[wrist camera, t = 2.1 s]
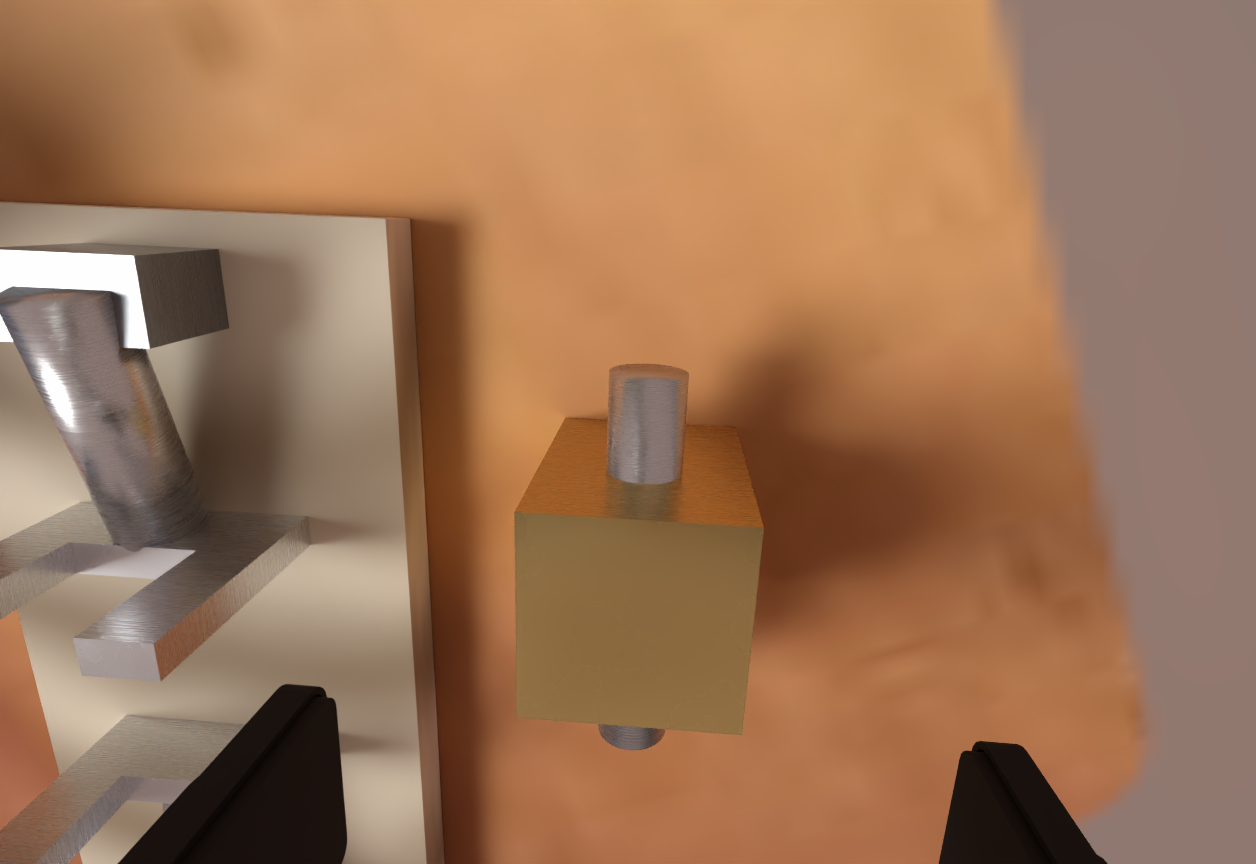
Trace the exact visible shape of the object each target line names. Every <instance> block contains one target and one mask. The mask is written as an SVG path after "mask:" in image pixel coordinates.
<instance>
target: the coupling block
mask: <svg viewBox="0 0 1256 864" xmlns="http://www.w3.org/2000/svg"><path fill="white" fill-rule="evenodd" d="M688 381H689V373H688V372H687V371H685V370H683V369H680V368H676V367H672V366H666V365H658V364H626V365H619V366H615V367H613V368H611V369H610V370H609V397H608V420H595V419H577V418H565V419H564V421H563V423H562V425H561V427H560V429H559V430H558V432H557V434H556V436H555V438H554V440H553V442H552V443H551V445H550V447H549V449H548V451H547V453H546V455H545V456H544V458H543V460H542V462H541V464H540V466H539V468H538V469H537V471H536V473H535V475H534V477H533V479H532V481H531V482H530V484H529V486H528V488H527V490H526V492H525V494H524V495H523V497H522V499H521V501H520V503H519V505H518V507H517V508H516V510H515V512H514V513H515V601H516V690H517V718H529V719H541V720H554V721H567V722H580V723H593V724H598V728H599V732H600V734H601V736H602V737H603V738H604V739H605V740H606V741H607V742H608V743H609V744H611V745H613V746H615V747H617V748H620V749H624V750H642V749H646V748H649V747H652V746H653V745H655V744H657V743H658V742H659V741H660V740H661V739H662V737H663V736H664V733H665V729H669V730H682V731H695V732H707V733H720V734H733V735H742V729H743V720H744V711H745V701H746V692H747V682H748V673H749V664H750V654H751V645H752V636H753V626H754V617H755V608H756V598H757V589H758V580H759V570H760V561H761V552H762V542H763V533H764V526H763V522H762V519H761V515H760V512H759V508H758V504H757V501H756V497H755V494H754V490H753V486H752V483H751V479H750V476H749V472H748V468H747V465H746V461H745V458H744V454H743V450H742V447H741V443H740V440H739V436H738V432H737V429H736V427H720V426H702V425H686V411H687V396H688Z"/></svg>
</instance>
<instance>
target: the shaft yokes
mask: <svg viewBox="0 0 1256 864" xmlns="http://www.w3.org/2000/svg"><path fill="white" fill-rule="evenodd" d="M228 328H229V322H228V315H227V308H226V300H225V293H224V285H223V278H222V270H221V263H220V255H219V249H211V248H188V247H165V246H142V245H119V244H97V243H71V244H52V245H33V246H13V247H0V341H5V342H14V344H15V346H16V348H17V350H18V352H19V354H20V356H21V358H22V360H23V362H24V364H25V366H26V368H27V370H28V372H29V374H30V376H31V378H32V380H33V382H34V384H35V386H36V388H37V390H38V392H39V394H40V396H41V398H42V400H43V402H44V404H45V406H46V408H47V410H48V412H49V414H50V416H51V418H52V420H53V422H54V424H55V426H56V428H57V430H58V433H59V435H60V437H61V439H62V441H63V443H64V445H65V447H66V449H67V451H68V453H69V455H70V457H71V459H72V461H73V463H74V465H75V467H76V469H77V471H78V473H79V475H80V477H81V479H82V481H83V483H84V485H85V487H86V489H87V491H88V493H89V495H90V497H91V499H92V501H93V503H90V502H79V503H77V504H75V505H73V506H71V507H69V508H67V509H65V510H63V511H61V512H59V513H57V514H55V515H53V516H51V517H48V518H46V519H44V520H42V521H40V522H38V523H36V524H34V525H32V526H30V527H28V528H26V529H24V530H22V531H20V532H18V533H16V534H14V535H12V536H9V537H7V538H5V539H3V540H1V541H0V619H1V618H3V617H5V616H6V615H8V614H10V613H11V612H13V611H15V610H16V609H18V608H20V607H21V606H23V605H25V604H26V603H28V602H30V601H31V600H33V599H35V598H36V597H38V596H40V595H41V594H43V593H45V592H46V591H48V590H50V589H51V588H53V587H55V586H56V585H58V584H60V583H61V582H63V581H65V580H66V579H68V578H70V577H71V576H73V575H74V574H90V575H105V576H119V577H134V578H148V579H156V580H154V581H153V582H151V583H150V584H148V585H147V586H146V587H144V588H143V589H141V590H140V591H139V592H137V593H136V594H134V595H133V596H131V597H130V598H129V599H127V600H126V601H124V602H123V603H122V604H120V605H119V606H117V607H116V608H114V609H113V610H112V611H110V612H109V613H107V614H106V615H105V616H103V617H102V618H100V619H99V620H97V621H96V622H95V623H93V624H92V625H90V626H89V627H88V628H86V629H85V630H83V631H82V632H81V633H79V634H78V635H76V636H75V637H73V641H74V645H75V650H76V654H77V658H78V663H79V667H80V671H81V675H82V676H91V677H104V678H117V679H130V680H143V681H157V682H161V681H162V680H163V679H164V678H165V677H167V676H168V675H169V674H170V673H171V672H172V671H173V670H174V669H175V668H176V667H178V666H179V665H180V664H181V663H182V662H183V661H184V660H185V659H186V658H187V657H188V656H190V655H191V654H192V653H193V652H194V651H195V650H196V649H197V648H198V647H199V646H201V645H202V644H203V643H204V642H205V641H206V640H207V639H208V638H209V637H210V636H211V635H213V634H214V633H215V632H216V631H217V630H218V629H219V628H220V627H221V626H222V625H224V624H225V623H226V622H227V621H228V620H229V619H230V618H231V617H232V616H233V615H235V614H236V613H237V612H238V611H239V610H240V609H241V608H242V607H243V606H244V605H245V604H247V603H248V602H249V601H250V600H251V599H252V598H253V597H254V596H255V595H256V594H258V593H259V592H260V591H261V590H262V589H263V588H264V587H265V586H266V585H267V584H268V583H270V582H271V581H272V580H273V579H274V578H275V577H276V576H277V575H278V574H279V573H281V572H282V571H283V570H284V569H285V568H286V567H287V566H288V565H289V564H290V563H292V562H293V561H294V560H295V559H296V558H297V557H298V556H299V555H300V554H301V553H302V552H304V551H305V550H306V549H307V548H308V547H309V546H310V545H311V541H310V532H309V523H308V516H296V515H280V514H265V513H249V512H233V511H217V510H208V508H207V505H206V503H205V500H204V498H203V495H202V492H201V490H200V487H199V485H198V482H197V480H196V477H195V474H194V472H193V469H192V467H191V464H190V461H189V459H188V456H187V454H186V451H185V448H184V446H183V443H182V441H181V438H180V436H179V433H178V430H177V428H176V425H175V423H174V420H173V417H172V415H171V412H170V410H169V407H168V405H167V402H166V399H165V397H164V394H163V392H162V389H161V386H160V384H159V381H158V379H157V376H156V373H155V371H154V368H153V366H152V363H151V361H150V358H149V355H148V353H147V350H146V349H152V348H155V347H159V346H163V345H167V344H171V343H175V342H178V341H182V340H186V339H190V338H194V337H198V336H202V335H205V334H209V333H213V332H217V331H221V330H225V329H228ZM244 726H245V724H235V723H222V722H209V721H197V720H184V719H171V718H158V717H146V716H133V715H126V716H125V717H124V718H122V719H121V720H120V721H119V722H118V723H117V724H116V725H115V726H114V727H113V728H112V729H110V730H109V731H108V732H107V733H106V734H105V735H104V736H103V737H102V738H101V739H100V740H98V741H97V742H96V743H95V744H94V745H93V746H92V747H91V748H90V749H89V750H88V751H86V752H85V753H84V754H83V755H82V756H81V757H80V758H79V759H78V760H77V761H75V762H74V763H73V764H72V765H71V766H70V767H69V768H68V769H67V770H66V771H65V772H63V773H62V774H61V775H60V776H59V777H58V778H57V779H56V780H55V781H54V782H53V783H51V784H50V785H49V786H48V787H47V788H46V789H45V790H44V791H43V792H42V793H41V794H39V795H38V796H37V797H36V798H35V799H34V800H33V801H32V802H31V803H30V804H29V805H27V806H26V807H25V808H24V809H23V810H22V811H21V812H20V813H19V814H18V815H17V816H15V817H14V818H13V819H12V820H11V821H10V822H9V823H8V824H7V825H6V826H4V827H3V828H2V829H1V830H0V864H68V863H69V862H70V861H71V860H72V859H73V858H74V857H75V855H76V854H77V853H78V852H79V851H80V850H81V849H82V848H83V847H84V846H85V845H86V844H87V843H88V841H89V840H90V839H91V838H92V837H93V836H94V835H95V834H96V833H97V832H98V831H99V830H100V829H101V828H102V826H103V825H104V824H105V823H106V822H107V821H108V820H109V819H110V818H111V817H112V816H113V815H114V814H115V813H116V811H117V810H118V809H119V808H120V807H121V806H122V805H123V804H124V803H125V802H126V801H127V800H129V801H141V802H153V803H163V813H164V812H165V811H166V810H167V808H168V807H169V806H170V805H171V804H172V803H173V802H174V801H175V800H176V799H177V797H178V796H179V795H180V794H181V793H182V792H183V791H184V790H185V789H186V787H187V786H188V785H189V784H190V783H191V782H193V781H194V780H195V779H196V778H197V777H198V776H200V774H201V773H202V772H203V771H204V770H205V769H206V768H207V767H208V766H209V764H210V763H211V762H212V761H213V760H214V759H215V758H216V757H217V756H218V754H219V753H220V752H221V751H222V750H223V749H224V748H225V747H226V746H227V744H228V743H229V742H230V741H231V740H232V739H233V738H234V737H235V736H236V734H237V733H238V732H239V731H240V730H241V729H242V728H243V727H244ZM163 813H162V814H163Z"/></svg>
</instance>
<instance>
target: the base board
mask: <svg viewBox="0 0 1256 864" xmlns="http://www.w3.org/2000/svg"><path fill="white" fill-rule="evenodd" d="M71 243H97V244H119V245H142V246H165V247H188V248H211V249H219V255H220V263H221V270H222V278H223V285H224V293H225V300H226V308H227V315H228V322H229V328H228V329H225V330H221V331H217V332H213V333H209V334H205V335H202V336H198V337H194V338H190V339H186V340H182V341H178V342H175V343H171V344H167V345H163V346H159V347H155V348H152V349H146V350H147V353H148V355H149V358H150V361H151V363H152V366H153V368H154V371H155V373H156V376H157V379H158V381H159V384H160V386H161V389H162V392H163V394H164V397H165V399H166V402H167V405H168V407H169V410H170V412H171V415H172V417H173V420H174V423H175V425H176V428H177V430H178V433H179V436H180V438H181V441H182V443H183V446H184V448H185V451H186V454H187V456H188V459H189V461H190V464H191V467H192V469H193V472H194V474H195V477H196V480H197V482H198V485H199V487H200V490H201V492H202V495H203V498H204V500H205V503H206V505H207V508H208V510H217V511H233V512H249V513H265V514H280V515H296V516H308V523H309V532H310V541H311V545H310V546H309V547H308V548H307V549H306V550H305V551H304V552H302V553H301V554H300V555H299V556H298V557H297V558H296V559H295V560H294V561H293V562H292V563H290V564H289V565H288V566H287V567H286V568H285V569H284V570H283V571H282V572H281V573H279V574H278V575H277V576H276V577H275V578H274V579H273V580H272V581H271V582H270V583H268V584H267V585H266V586H265V587H264V588H263V589H262V590H261V591H260V592H259V593H258V594H256V595H255V596H254V597H253V598H252V599H251V600H250V601H249V602H248V603H247V604H245V605H244V606H243V607H242V608H241V609H240V610H239V611H238V612H237V613H236V614H235V615H233V616H232V617H231V618H230V619H229V620H228V621H227V622H226V623H225V624H224V625H222V626H221V627H220V628H219V629H218V630H217V631H216V632H215V633H214V634H213V635H211V636H210V637H209V638H208V639H207V640H206V641H205V642H204V643H203V644H202V645H201V646H199V647H198V648H197V649H196V650H195V651H194V652H193V653H192V654H191V655H190V656H188V657H187V658H186V659H185V660H184V661H183V662H182V663H181V664H180V665H179V666H178V667H176V668H175V669H174V670H173V671H172V672H171V673H170V674H169V675H168V676H167V677H165V678H164V679H163V680H162V681H161V682H157V681H143V680H130V679H117V678H104V677H91V676H82V675H81V671H80V667H79V663H78V658H77V654H76V650H75V645H74V641H73V637H75V636H76V635H78V634H79V633H81V632H82V631H83V630H85V629H86V628H88V627H89V626H90V625H92V624H93V623H95V622H96V621H97V620H99V619H100V618H102V617H103V616H105V615H106V614H107V613H109V612H110V611H112V610H113V609H114V608H116V607H117V606H119V605H120V604H122V603H123V602H124V601H126V600H127V599H129V598H130V597H131V596H133V595H134V594H136V593H137V592H139V591H140V590H141V589H143V588H144V587H146V586H147V585H148V584H150V583H151V582H153V581H154V580H156V579H148V578H134V577H119V576H105V575H90V574H74V575H73V576H71V577H70V578H68V579H66V580H65V581H63V582H61V583H60V584H58V585H56V586H55V587H53V588H51V589H50V590H48V591H46V592H45V593H43V594H41V595H40V596H38V597H36V598H35V599H33V600H31V601H30V602H28V603H26V604H25V605H23V606H21V607H20V608H18V609H17V610H18V614H19V618H20V622H21V626H22V630H23V634H24V638H25V641H26V645H27V649H28V653H29V657H30V661H31V665H32V669H33V672H34V676H35V680H36V684H37V688H38V692H39V696H40V700H41V704H42V707H43V711H44V715H45V719H46V723H47V727H48V731H49V735H50V739H51V742H52V746H53V750H54V754H55V758H56V762H57V766H58V770H59V774H60V775H61V774H62V773H63V772H65V771H66V770H67V769H68V768H69V767H70V766H71V765H72V764H73V763H74V762H75V761H77V760H78V759H79V758H80V757H81V756H82V755H83V754H84V753H85V752H86V751H88V750H89V749H90V748H91V747H92V746H93V745H94V744H95V743H96V742H97V741H98V740H100V739H101V738H102V737H103V736H104V735H105V734H106V733H107V732H108V731H109V730H110V729H112V728H113V727H114V726H115V725H116V724H117V723H118V722H119V721H120V720H121V719H122V718H124V717H125V716H126V715H133V716H146V717H158V718H171V719H184V720H197V721H209V722H222V723H235V724H246V723H247V722H248V721H249V720H250V719H251V718H252V717H253V716H254V714H255V713H256V712H257V711H258V710H259V709H260V708H261V707H262V706H263V704H264V703H265V702H266V701H267V700H268V699H269V698H270V697H271V696H272V694H273V693H274V692H275V691H276V690H277V689H278V688H279V687H280V686H282V685H284V684H295V685H307V686H319V687H322V688H324V690H325V691H326V695H327V697H329V698H333V699H334V700H335V702H336V707H337V719H338V731H339V743H340V755H341V767H342V779H343V791H344V803H345V815H346V827H347V848H346V852H345V856H344V859H343V862H342V864H445V861H444V843H443V824H442V805H441V787H440V768H439V749H438V731H437V712H436V693H435V675H434V656H433V638H432V619H431V600H430V582H429V563H428V544H427V526H426V507H425V488H424V470H423V451H422V433H421V414H420V395H419V377H418V358H417V339H416V321H415V302H414V284H413V265H412V246H411V228H410V218H391V217H367V216H342V215H318V214H293V213H269V212H245V211H220V210H196V209H171V208H147V207H123V206H98V205H74V204H49V203H25V202H1V201H0V247H13V246H33V245H52V244H71ZM79 502H90V503H93V501H92V499H91V497H90V495H89V493H88V491H87V489H86V487H85V485H84V483H83V481H82V479H81V477H80V475H79V473H78V471H77V469H76V467H75V465H74V463H73V461H72V459H71V457H70V455H69V453H68V451H67V449H66V447H65V445H64V443H63V441H62V439H61V437H60V435H59V433H58V430H57V428H56V426H55V424H54V422H53V420H52V418H51V416H50V414H49V412H48V410H47V408H46V406H45V404H44V402H43V400H42V398H41V396H40V394H39V392H38V390H37V388H36V386H35V384H34V382H33V380H32V378H31V376H30V374H29V372H28V370H27V368H26V366H25V364H24V362H23V360H22V358H21V356H20V354H19V352H18V350H17V348H16V346H15V344H14V342H5V341H0V541H1V540H3V539H5V538H7V537H9V536H12V535H14V534H16V533H18V532H20V531H22V530H24V529H26V528H28V527H30V526H32V525H34V524H36V523H38V522H40V521H42V520H44V519H46V518H48V517H51V516H53V515H55V514H57V513H59V512H61V511H63V510H65V509H67V508H69V507H71V506H73V505H75V504H77V503H79ZM162 813H163V803H153V802H141V801H129V800H127V801H126V802H125V803H124V804H123V805H122V806H121V807H120V808H119V809H118V810H117V811H116V813H115V814H114V815H113V816H112V817H111V818H110V819H109V820H108V821H107V822H106V823H105V824H104V825H103V826H102V828H101V829H100V830H99V831H98V832H97V833H96V834H95V835H94V836H93V837H92V838H91V839H90V840H89V841H88V843H87V844H86V845H85V846H84V847H83V848H82V849H81V850H80V855H81V859H82V863H83V864H118V863H119V862H120V860H121V859H122V858H123V857H124V856H125V855H126V854H127V853H128V852H129V851H130V849H131V848H132V847H133V846H134V845H135V844H136V843H137V842H138V841H139V839H140V838H141V837H142V836H143V835H144V834H145V833H146V832H147V831H148V829H149V828H150V827H151V826H152V825H153V824H154V823H155V822H156V821H157V820H158V818H159V817H160V816H161V815H162Z"/></svg>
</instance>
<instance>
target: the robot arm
mask: <svg viewBox="0 0 1256 864" xmlns="http://www.w3.org/2000/svg"><path fill="white" fill-rule="evenodd" d="M346 848H347V827H346V815H345V803H344V791H343V779H342V767H341V755H340V743H339V731H338V719H337V707H336V702H335V700H334V699H333V698H329V697H327V695H326V691H325V690H324V688H322V687H319V686H307V685H295V684H284V685H282V686H280V687H279V688H278V689H277V690H276V691H275V692H274V693H273V694H272V696H271V697H270V698H269V699H268V700H267V701H266V702H265V703H264V704H263V706H262V707H261V708H260V709H259V710H258V711H257V712H256V713H255V714H254V716H253V717H252V718H251V719H250V720H249V721H248V722H247V723H246V724H245V726H244V727H243V728H242V729H241V730H240V731H239V732H238V733H237V734H236V736H235V737H234V738H233V739H232V740H231V741H230V742H229V743H228V744H227V746H226V747H225V748H224V749H223V750H222V751H221V752H220V753H219V754H218V756H217V757H216V758H215V759H214V760H213V761H212V762H211V763H210V764H209V766H208V767H207V768H206V769H205V770H204V771H203V772H202V773H201V774H200V776H198V777H197V778H196V779H195V780H194V781H193V782H191V783H190V784H189V785H188V786H187V787H186V789H185V790H184V791H183V792H182V793H181V794H180V795H179V796H178V797H177V799H176V800H175V801H174V802H173V803H172V804H171V805H170V806H169V807H168V808H167V810H166V811H165V812H164V813H163V814H162V815H161V816H160V817H159V818H158V820H157V821H156V822H155V823H154V824H153V825H152V826H151V827H150V828H149V829H148V831H147V832H146V833H145V834H144V835H143V836H142V837H141V838H140V839H139V841H138V842H137V843H136V844H135V845H134V846H133V847H132V848H131V849H130V851H129V852H128V853H127V854H126V855H125V856H124V857H123V858H122V859H121V860H120V862H119V863H118V864H342V862H343V859H344V856H345V852H346ZM939 864H1107V862H1106V861H1105V860H1104V859H1103V858H1101V857H1100V856H1098V855H1096V853H1095V852H1094V850H1093V849H1092V847H1091V846H1090V844H1089V843H1088V841H1087V840H1086V838H1085V837H1084V835H1083V834H1082V832H1081V831H1080V829H1079V828H1078V826H1077V825H1076V823H1075V822H1074V820H1073V819H1072V818H1071V816H1070V815H1069V813H1068V812H1067V810H1066V809H1065V807H1064V806H1063V804H1062V803H1061V801H1060V800H1059V798H1058V797H1057V795H1056V794H1055V792H1054V791H1053V789H1052V788H1051V786H1050V785H1049V783H1048V782H1047V781H1046V779H1045V778H1044V776H1043V775H1042V773H1041V772H1040V770H1039V769H1038V767H1037V766H1036V764H1035V763H1034V761H1033V760H1032V758H1031V757H1030V755H1029V754H1028V752H1027V751H1026V750H1025V749H1024V748H1023V747H1022V746H1020V745H1018V744H1009V743H997V742H984V741H979V742H976V743H975V744H974V746H973V748H972V751H963V753H962V754H961V756H960V760H959V765H958V770H957V775H956V780H955V785H954V790H953V795H952V800H951V805H950V810H949V815H948V820H947V825H946V830H945V835H944V840H943V845H942V850H941V855H940V860H939Z"/></svg>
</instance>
